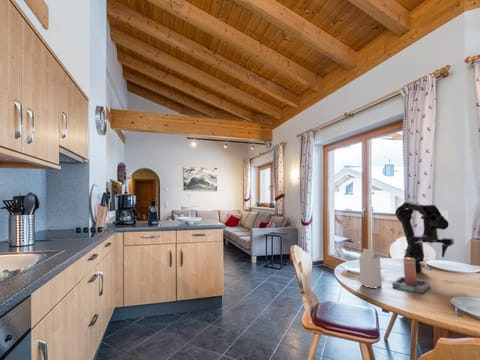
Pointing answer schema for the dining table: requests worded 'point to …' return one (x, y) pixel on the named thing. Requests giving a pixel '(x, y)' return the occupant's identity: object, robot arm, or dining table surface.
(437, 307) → the dining table surface
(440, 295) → the dining table surface
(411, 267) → the cartridge
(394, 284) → the parts tray
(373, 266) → the milk carton
